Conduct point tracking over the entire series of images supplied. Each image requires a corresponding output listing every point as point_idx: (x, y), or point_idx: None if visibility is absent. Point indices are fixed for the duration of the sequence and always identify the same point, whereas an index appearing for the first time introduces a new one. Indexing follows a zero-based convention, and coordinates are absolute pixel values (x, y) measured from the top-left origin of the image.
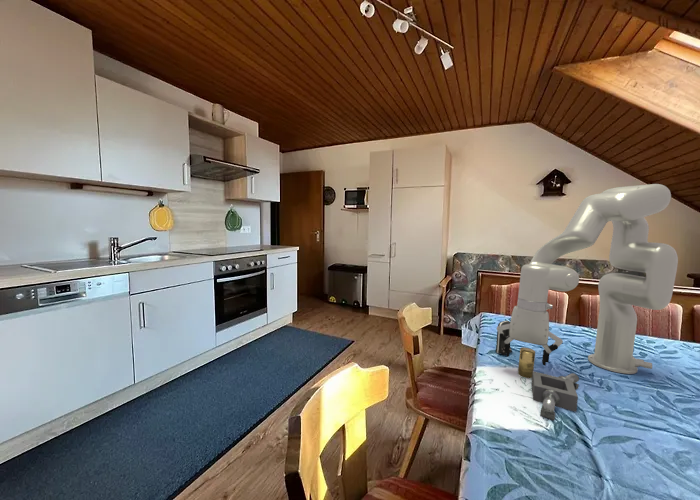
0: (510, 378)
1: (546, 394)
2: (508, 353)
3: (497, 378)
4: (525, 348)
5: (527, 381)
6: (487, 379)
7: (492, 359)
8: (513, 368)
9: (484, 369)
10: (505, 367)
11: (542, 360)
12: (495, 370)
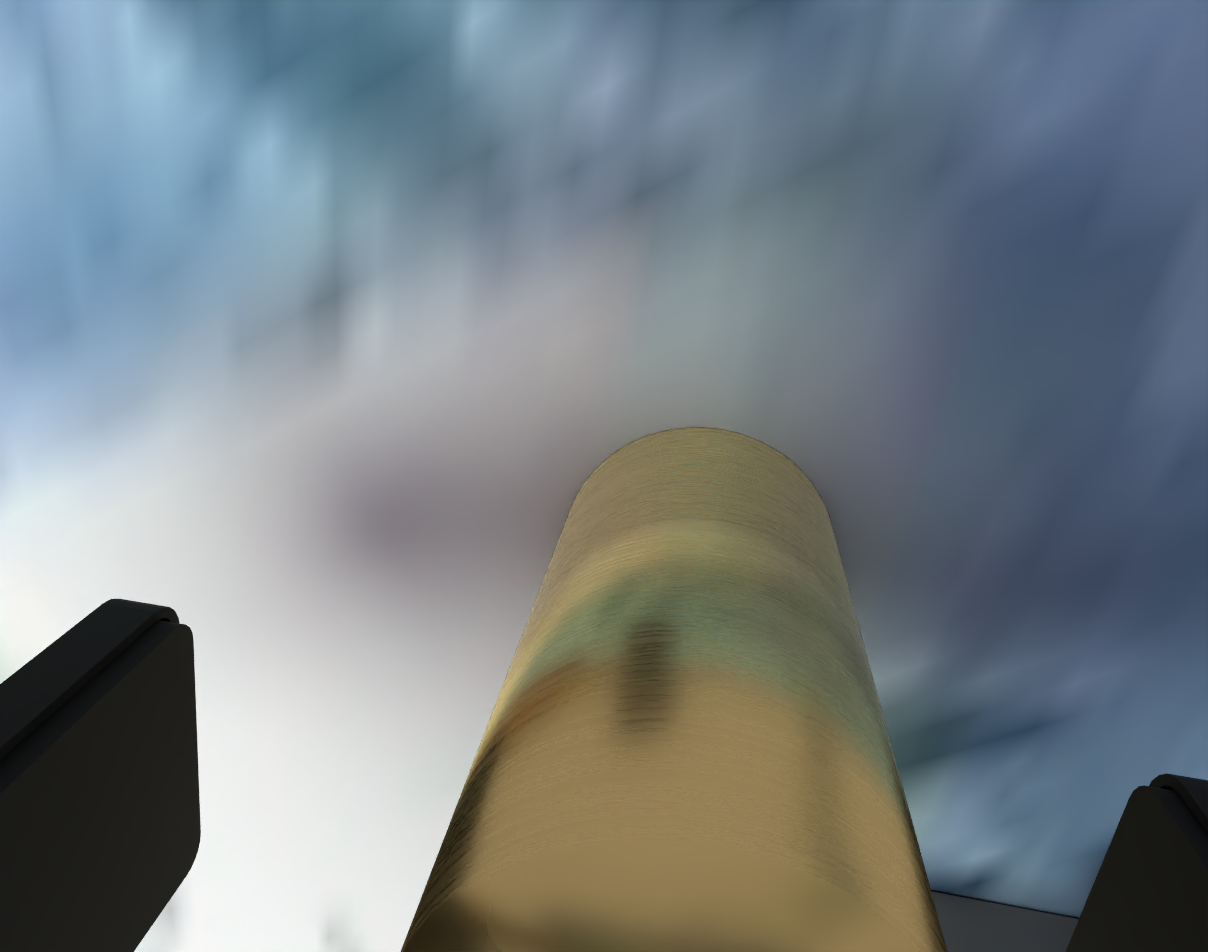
0: (419, 776)
1: None
2: (121, 948)
3: (232, 841)
4: (607, 937)
5: None
6: None
7: (43, 11)
8: (500, 334)
9: (5, 618)
10: (341, 360)
11: (1135, 923)
12: (175, 582)
